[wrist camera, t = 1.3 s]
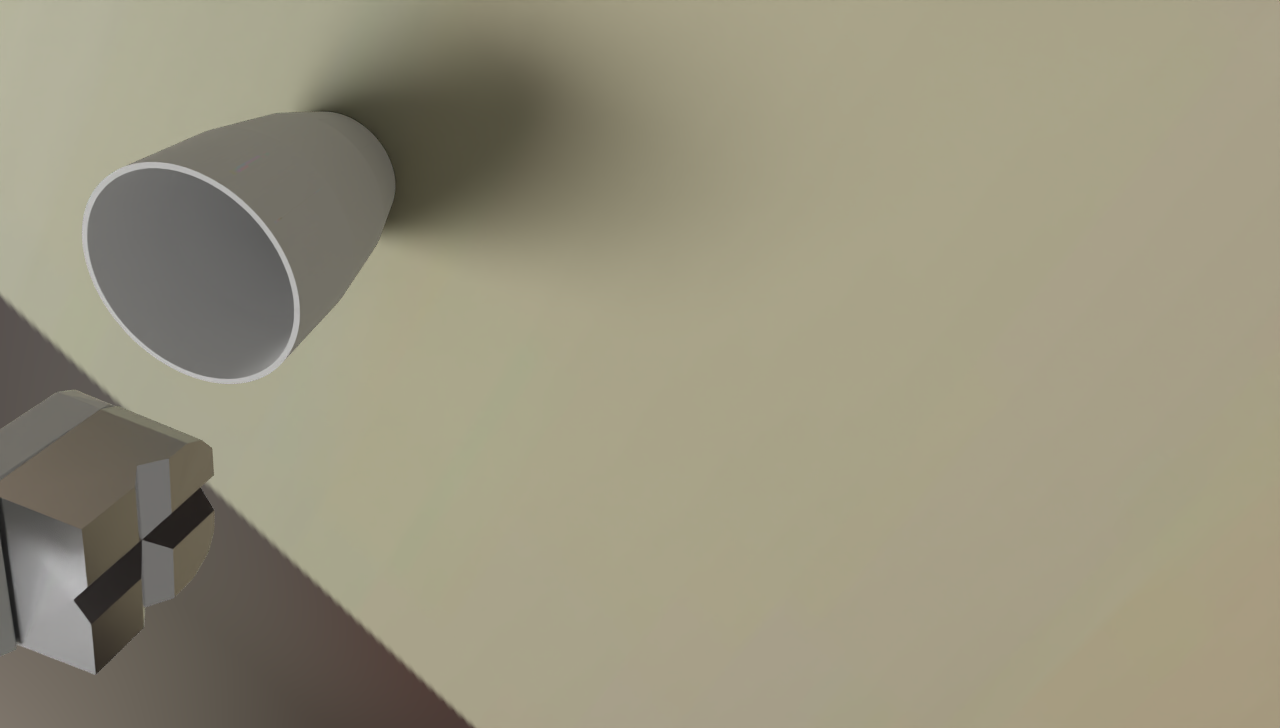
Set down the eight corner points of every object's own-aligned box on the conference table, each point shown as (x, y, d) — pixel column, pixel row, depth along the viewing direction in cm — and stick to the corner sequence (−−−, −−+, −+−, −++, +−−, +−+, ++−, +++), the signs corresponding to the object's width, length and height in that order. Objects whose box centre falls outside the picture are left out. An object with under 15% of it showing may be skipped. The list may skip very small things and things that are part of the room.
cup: (214, 108, 46) (38, 201, 38) (371, 44, 43) (214, 130, 34) (311, 282, 49) (167, 403, 41) (465, 236, 46) (341, 357, 38)
